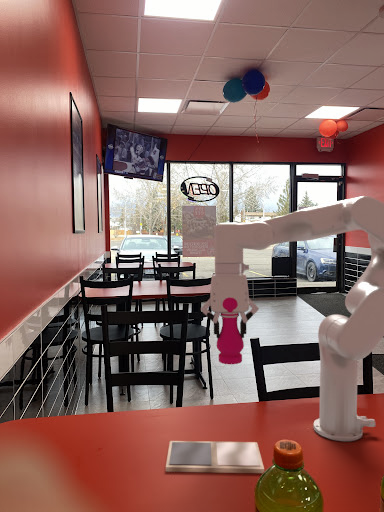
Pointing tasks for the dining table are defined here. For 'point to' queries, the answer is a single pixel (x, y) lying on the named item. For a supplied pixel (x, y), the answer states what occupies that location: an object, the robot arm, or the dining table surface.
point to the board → (214, 457)
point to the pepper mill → (230, 335)
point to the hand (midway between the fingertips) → (230, 336)
